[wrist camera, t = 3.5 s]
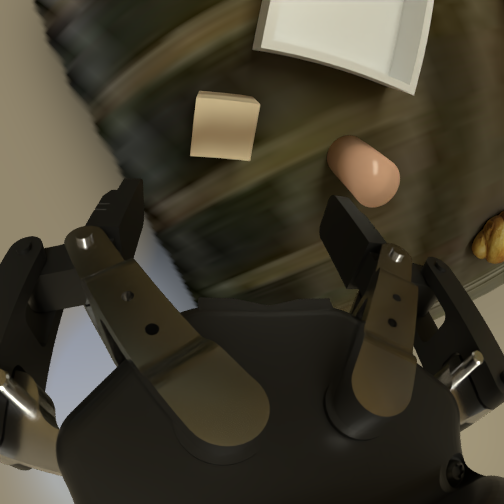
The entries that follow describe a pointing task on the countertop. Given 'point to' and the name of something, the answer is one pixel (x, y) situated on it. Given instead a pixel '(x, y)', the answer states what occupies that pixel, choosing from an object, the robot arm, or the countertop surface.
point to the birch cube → (224, 125)
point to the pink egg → (363, 170)
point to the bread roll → (491, 240)
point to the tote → (350, 36)
